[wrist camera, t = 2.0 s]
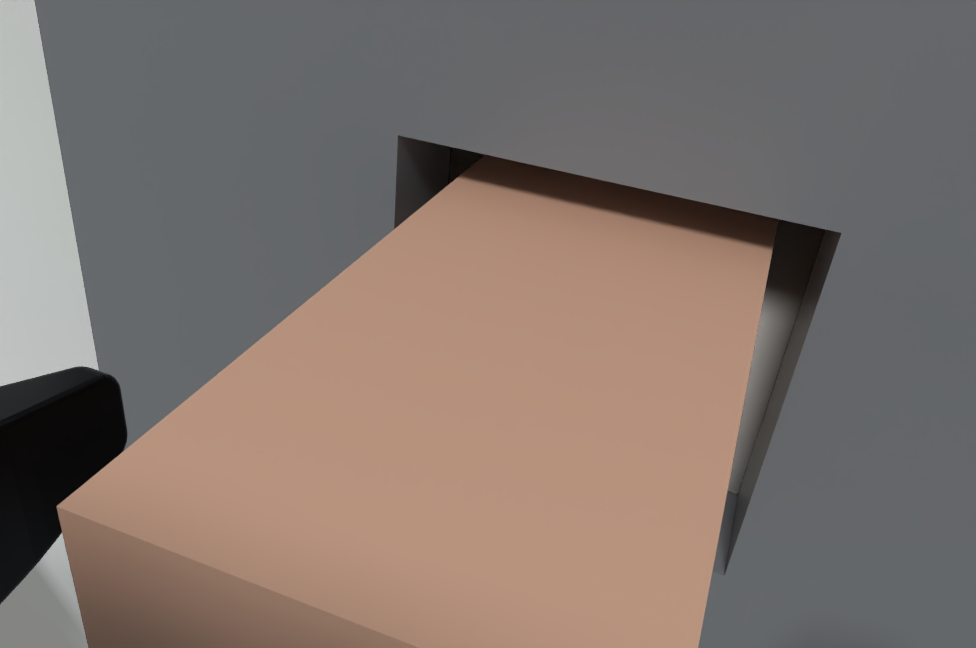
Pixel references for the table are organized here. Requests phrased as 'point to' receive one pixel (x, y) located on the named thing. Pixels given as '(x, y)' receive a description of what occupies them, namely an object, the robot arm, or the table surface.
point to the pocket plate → (591, 153)
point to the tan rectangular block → (453, 439)
